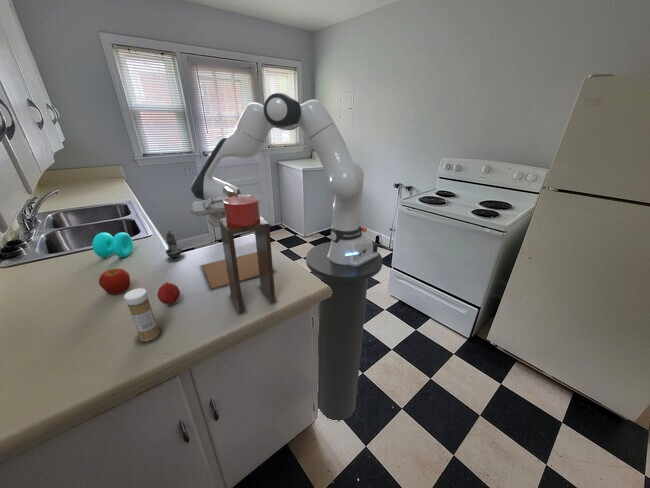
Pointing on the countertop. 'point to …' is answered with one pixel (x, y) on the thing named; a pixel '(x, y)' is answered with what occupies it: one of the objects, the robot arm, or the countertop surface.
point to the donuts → (112, 244)
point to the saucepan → (240, 209)
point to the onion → (168, 293)
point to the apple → (115, 281)
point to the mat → (220, 276)
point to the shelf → (262, 252)
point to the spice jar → (142, 314)
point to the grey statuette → (173, 248)
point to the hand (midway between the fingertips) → (226, 199)
